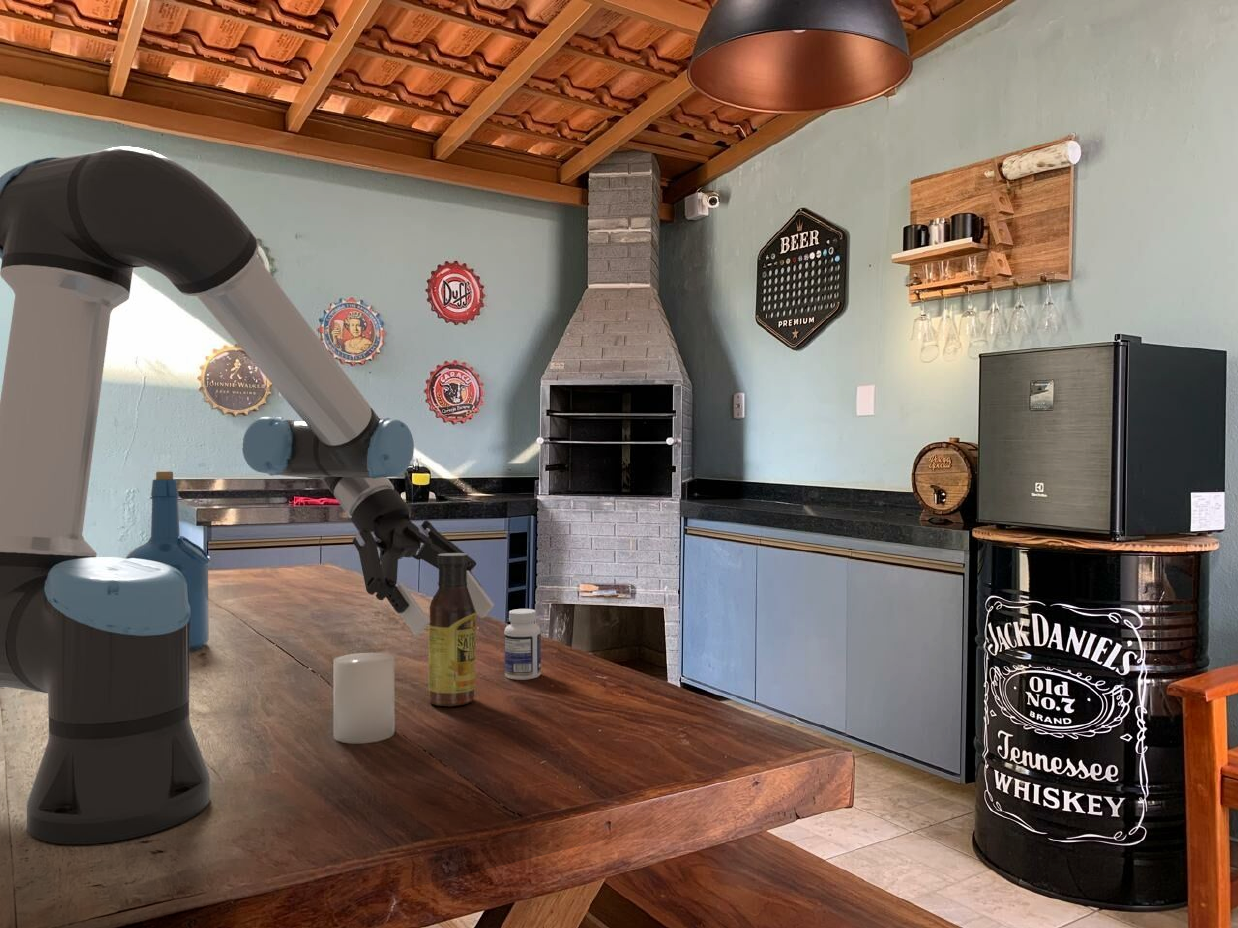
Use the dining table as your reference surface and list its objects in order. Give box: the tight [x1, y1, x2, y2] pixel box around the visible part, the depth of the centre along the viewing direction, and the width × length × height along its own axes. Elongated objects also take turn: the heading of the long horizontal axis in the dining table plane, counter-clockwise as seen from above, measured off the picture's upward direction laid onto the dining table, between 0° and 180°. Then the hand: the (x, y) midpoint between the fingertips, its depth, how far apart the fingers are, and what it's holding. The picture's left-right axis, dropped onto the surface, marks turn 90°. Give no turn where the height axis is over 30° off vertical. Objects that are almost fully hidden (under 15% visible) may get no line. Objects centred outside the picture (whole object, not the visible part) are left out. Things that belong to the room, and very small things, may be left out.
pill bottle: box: [503, 608, 542, 681], centre depth 139 cm, size 5×5×10 cm
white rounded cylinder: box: [332, 652, 395, 745], centre depth 111 cm, size 7×7×9 cm
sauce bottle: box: [427, 552, 477, 708], centre depth 125 cm, size 7×6×20 cm
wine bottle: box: [124, 470, 212, 652], centre depth 157 cm, size 14×13×30 cm
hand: (456, 620), depth 125 cm, fingers open, 13 cm apart
